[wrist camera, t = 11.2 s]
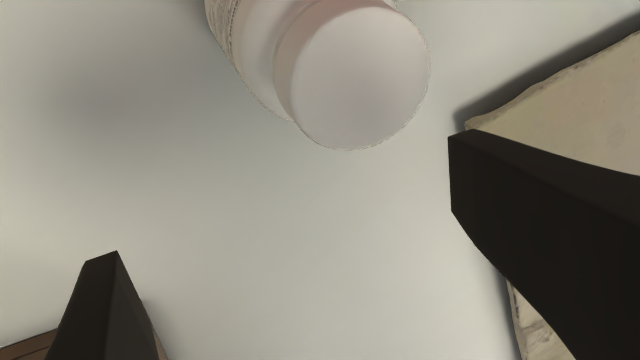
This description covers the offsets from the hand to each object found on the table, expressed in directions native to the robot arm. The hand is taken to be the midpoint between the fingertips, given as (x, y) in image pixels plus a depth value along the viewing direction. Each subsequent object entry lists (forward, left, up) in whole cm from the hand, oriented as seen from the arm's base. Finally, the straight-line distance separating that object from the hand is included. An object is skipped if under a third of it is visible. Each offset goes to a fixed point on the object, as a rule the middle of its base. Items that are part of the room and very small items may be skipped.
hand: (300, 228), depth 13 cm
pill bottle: (+2, -2, -10) cm, 10 cm away
